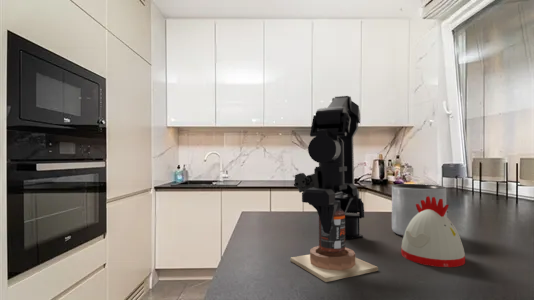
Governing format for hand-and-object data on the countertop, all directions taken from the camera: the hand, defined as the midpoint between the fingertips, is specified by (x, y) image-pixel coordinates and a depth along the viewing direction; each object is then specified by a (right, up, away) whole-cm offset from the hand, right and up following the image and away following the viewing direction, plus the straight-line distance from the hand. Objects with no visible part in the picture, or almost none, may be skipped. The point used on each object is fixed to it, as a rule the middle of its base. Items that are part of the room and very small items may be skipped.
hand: (331, 230), depth 70 cm
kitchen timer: (+26, -8, +6) cm, 28 cm away
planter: (+34, -9, +28) cm, 45 cm away
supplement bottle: (0, -5, 0) cm, 5 cm away
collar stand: (0, -8, 0) cm, 8 cm away
